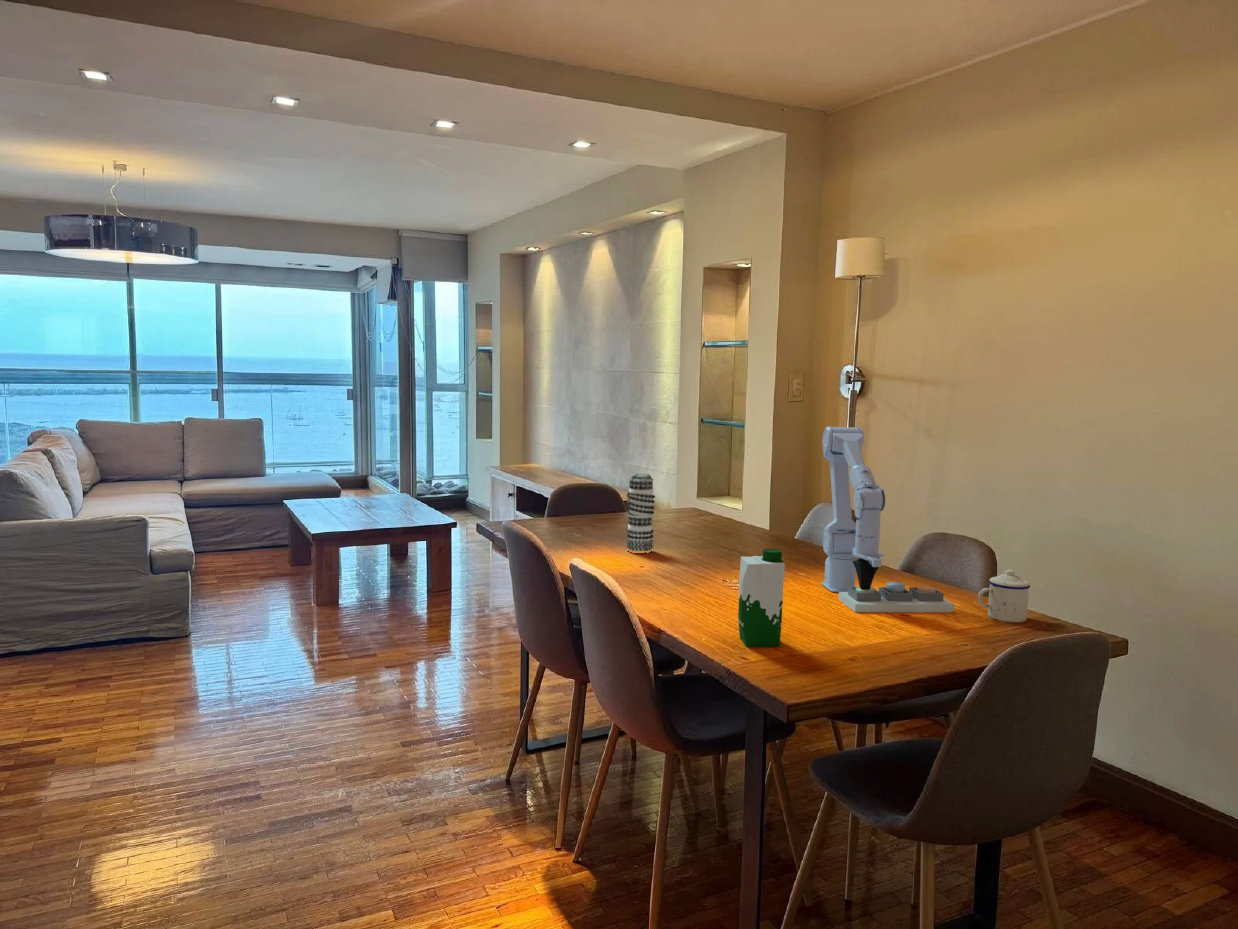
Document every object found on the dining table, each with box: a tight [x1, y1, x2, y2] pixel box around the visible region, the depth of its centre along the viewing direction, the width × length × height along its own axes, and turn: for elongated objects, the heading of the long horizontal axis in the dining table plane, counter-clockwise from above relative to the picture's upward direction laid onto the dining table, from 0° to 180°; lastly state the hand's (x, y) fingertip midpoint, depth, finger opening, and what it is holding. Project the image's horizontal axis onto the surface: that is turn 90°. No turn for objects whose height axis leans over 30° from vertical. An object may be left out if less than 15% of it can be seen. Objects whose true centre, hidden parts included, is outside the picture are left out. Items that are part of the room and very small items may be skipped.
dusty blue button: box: [886, 581, 906, 593], centre depth 215 cm, size 4×4×2 cm
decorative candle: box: [626, 473, 656, 551], centre depth 275 cm, size 9×9×25 cm
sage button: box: [855, 586, 875, 593], centre depth 215 cm, size 4×4×2 cm
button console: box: [838, 586, 955, 613], centre depth 215 cm, size 12×25×4 cm, turn 95°
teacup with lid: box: [977, 569, 1031, 624], centre depth 206 cm, size 12×9×12 cm
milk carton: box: [737, 548, 786, 648], centre depth 182 cm, size 9×9×20 cm
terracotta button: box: [917, 586, 936, 593], centre depth 216 cm, size 4×4×2 cm
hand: (864, 589), depth 214 cm, fingers closed, pressing on sage button
